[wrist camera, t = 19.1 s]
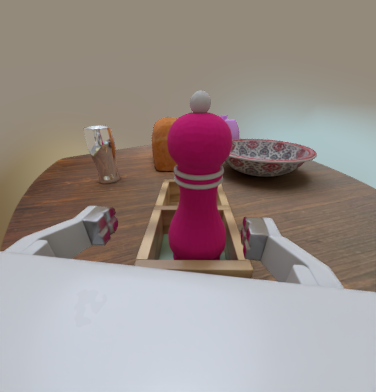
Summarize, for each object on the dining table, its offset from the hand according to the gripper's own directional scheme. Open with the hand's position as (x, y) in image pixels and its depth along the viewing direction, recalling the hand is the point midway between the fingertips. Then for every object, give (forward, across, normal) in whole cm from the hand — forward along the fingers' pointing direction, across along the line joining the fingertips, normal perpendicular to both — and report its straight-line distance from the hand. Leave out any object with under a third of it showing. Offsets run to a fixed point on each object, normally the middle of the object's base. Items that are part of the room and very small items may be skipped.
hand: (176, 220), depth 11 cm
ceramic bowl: (+48, +18, -14) cm, 53 cm away
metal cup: (+36, -28, -14) cm, 48 cm away
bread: (+58, -13, -14) cm, 61 cm away
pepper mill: (+8, +1, -13) cm, 15 cm away
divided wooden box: (+14, 0, -14) cm, 20 cm away
